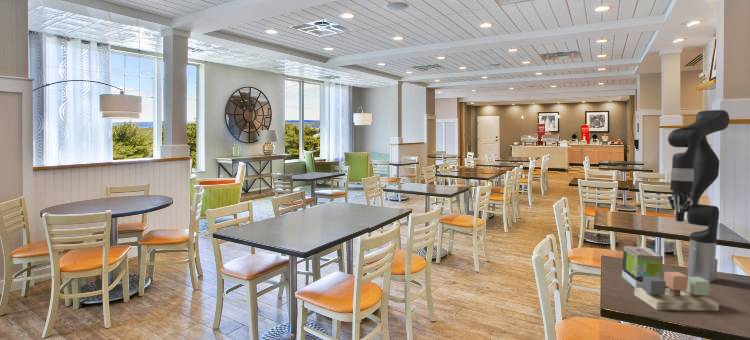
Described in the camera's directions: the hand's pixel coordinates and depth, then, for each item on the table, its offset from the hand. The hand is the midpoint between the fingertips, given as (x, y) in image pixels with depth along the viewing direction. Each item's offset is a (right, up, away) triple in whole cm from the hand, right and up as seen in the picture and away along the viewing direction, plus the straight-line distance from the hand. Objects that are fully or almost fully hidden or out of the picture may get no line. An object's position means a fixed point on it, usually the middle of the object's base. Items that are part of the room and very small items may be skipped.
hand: (679, 221), depth 167 cm
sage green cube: (-1, -26, -11) cm, 28 cm away
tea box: (-9, -29, +10) cm, 32 cm away
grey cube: (-17, -26, -10) cm, 33 cm away
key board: (-9, -30, -10) cm, 33 cm away
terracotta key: (-9, -24, -10) cm, 28 cm away
